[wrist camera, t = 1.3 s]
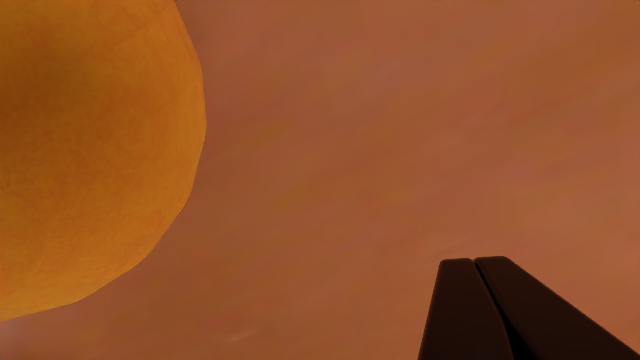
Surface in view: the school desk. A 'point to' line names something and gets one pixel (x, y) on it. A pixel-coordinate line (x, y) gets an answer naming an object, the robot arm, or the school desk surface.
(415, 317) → the school desk surface
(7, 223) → the fruit
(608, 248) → the school desk surface
